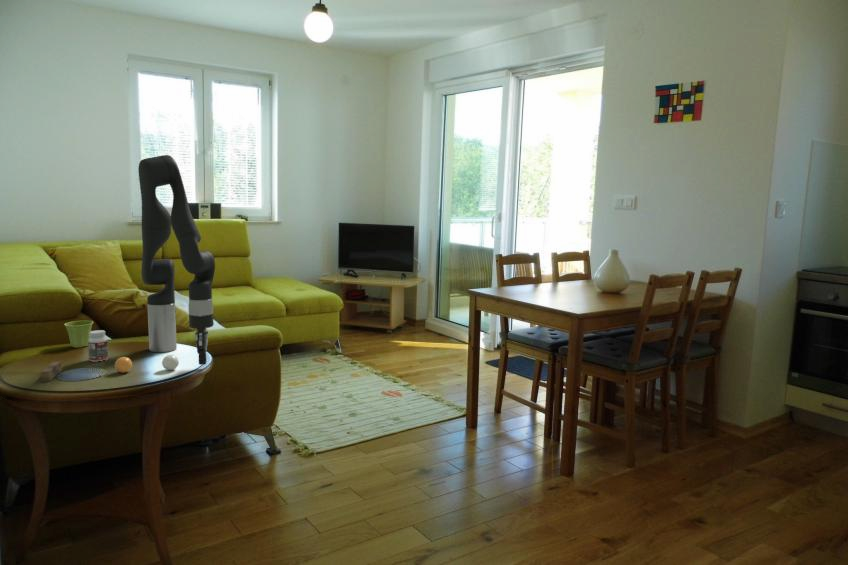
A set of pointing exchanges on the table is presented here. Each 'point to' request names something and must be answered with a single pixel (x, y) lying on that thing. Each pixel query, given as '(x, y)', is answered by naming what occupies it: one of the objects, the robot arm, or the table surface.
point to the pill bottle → (98, 346)
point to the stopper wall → (51, 371)
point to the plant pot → (79, 332)
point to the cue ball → (170, 362)
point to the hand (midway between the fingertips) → (202, 363)
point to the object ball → (123, 364)
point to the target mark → (78, 374)
